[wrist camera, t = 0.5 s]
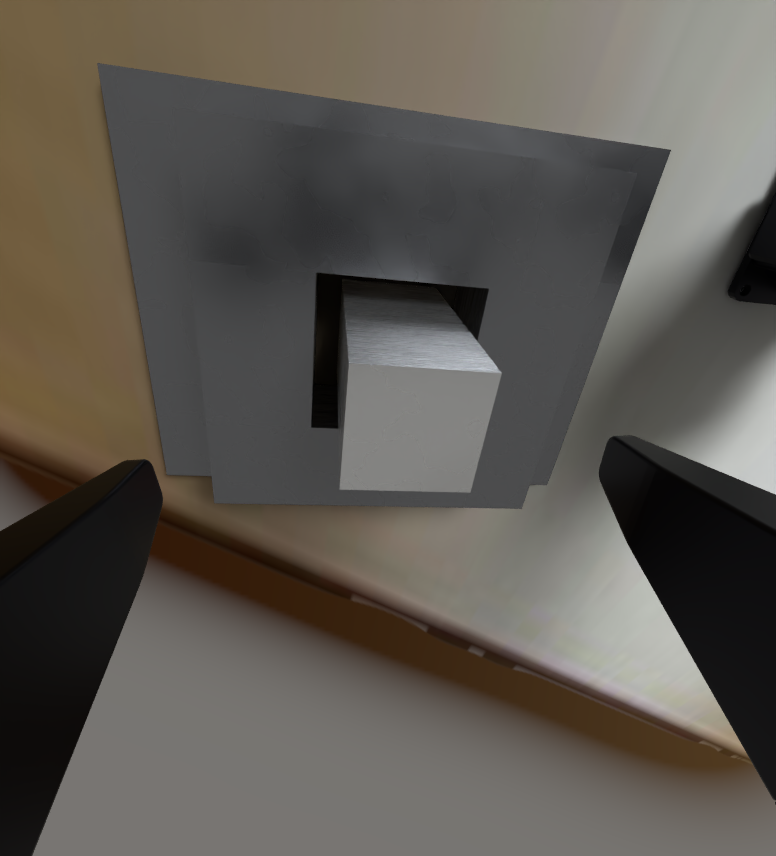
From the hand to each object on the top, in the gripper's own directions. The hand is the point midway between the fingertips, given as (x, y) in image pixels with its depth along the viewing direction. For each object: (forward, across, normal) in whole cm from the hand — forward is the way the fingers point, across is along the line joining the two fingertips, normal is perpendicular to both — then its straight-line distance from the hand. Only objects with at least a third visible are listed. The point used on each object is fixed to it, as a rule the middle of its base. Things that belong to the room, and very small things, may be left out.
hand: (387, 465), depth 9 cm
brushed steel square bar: (+12, -1, +1) cm, 12 cm away
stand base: (+12, -1, +1) cm, 13 cm away
